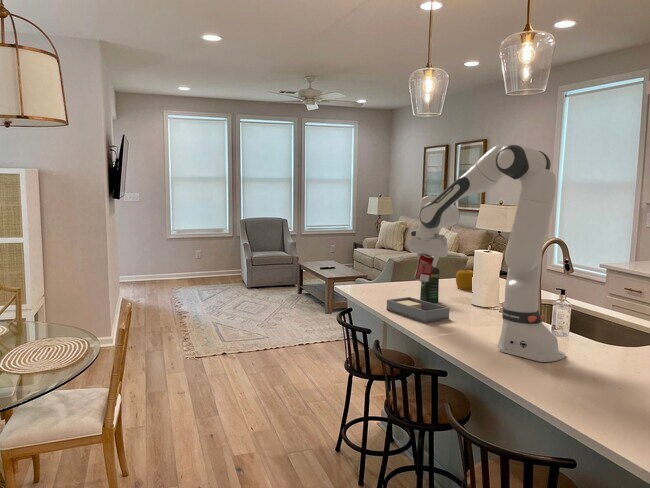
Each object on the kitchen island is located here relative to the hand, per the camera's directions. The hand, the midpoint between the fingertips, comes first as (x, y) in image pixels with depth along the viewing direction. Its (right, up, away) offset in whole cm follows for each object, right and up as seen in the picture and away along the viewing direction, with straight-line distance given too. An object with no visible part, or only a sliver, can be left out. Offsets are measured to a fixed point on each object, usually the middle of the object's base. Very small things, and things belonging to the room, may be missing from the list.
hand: (427, 265), depth 212 cm
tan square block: (-7, -21, +12) cm, 25 cm away
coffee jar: (+7, -20, +31) cm, 38 cm away
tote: (-3, -22, +7) cm, 24 cm away
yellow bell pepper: (+34, -18, +61) cm, 72 cm away
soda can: (-2, -7, +3) cm, 8 cm away
